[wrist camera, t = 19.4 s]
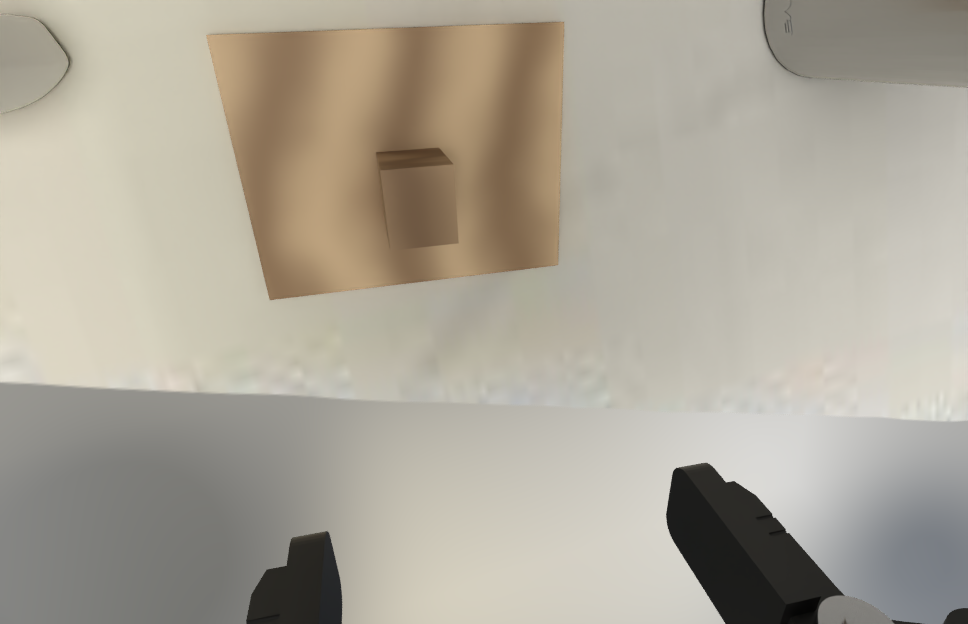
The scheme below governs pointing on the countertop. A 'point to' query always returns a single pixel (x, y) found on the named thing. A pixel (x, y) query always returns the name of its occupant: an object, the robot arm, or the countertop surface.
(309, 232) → the lid
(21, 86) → the eye dropper bottle
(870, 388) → the countertop surface
